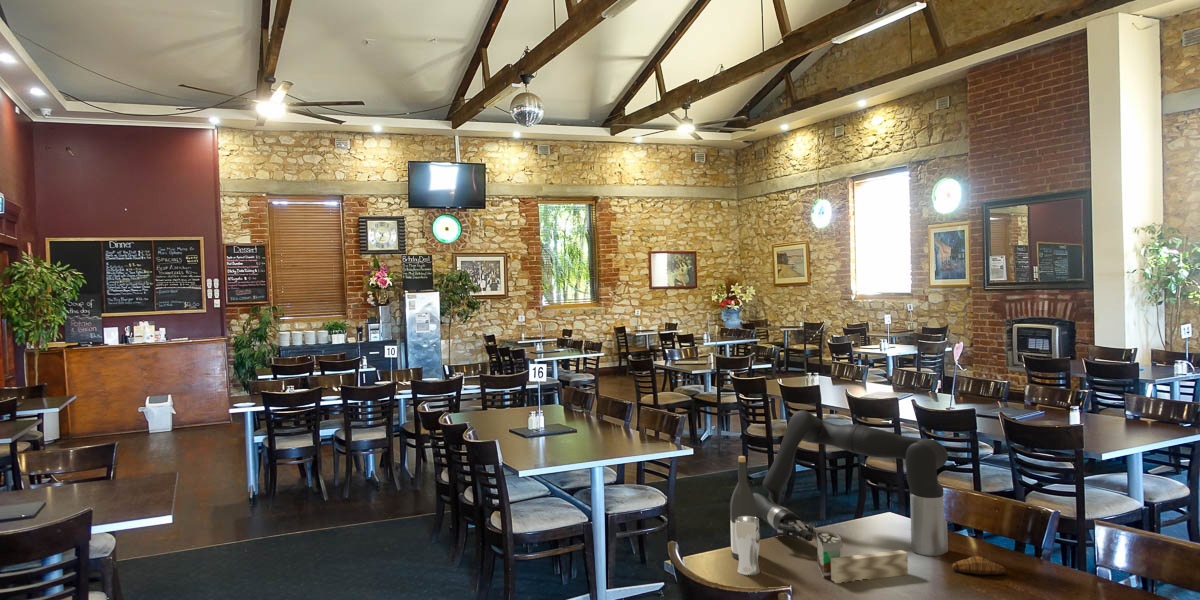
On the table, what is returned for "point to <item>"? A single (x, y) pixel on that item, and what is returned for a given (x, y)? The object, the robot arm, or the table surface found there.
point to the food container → (827, 550)
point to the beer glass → (747, 544)
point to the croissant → (978, 566)
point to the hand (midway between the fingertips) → (810, 537)
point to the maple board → (869, 566)
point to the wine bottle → (741, 503)
